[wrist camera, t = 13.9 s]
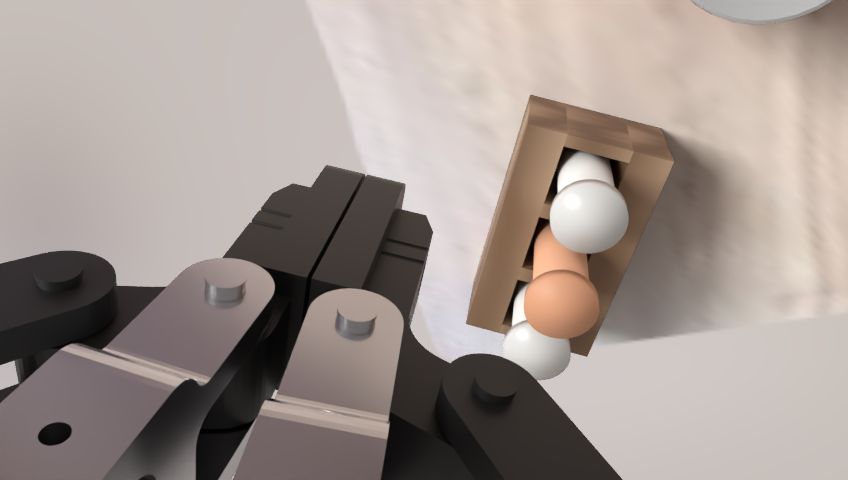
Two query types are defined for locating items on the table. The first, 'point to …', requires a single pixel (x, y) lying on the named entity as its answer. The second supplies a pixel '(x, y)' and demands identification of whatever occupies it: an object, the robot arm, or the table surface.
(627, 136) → the walnut block
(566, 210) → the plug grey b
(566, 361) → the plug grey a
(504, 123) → the table surface
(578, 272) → the plug terracotta
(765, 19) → the canned food
